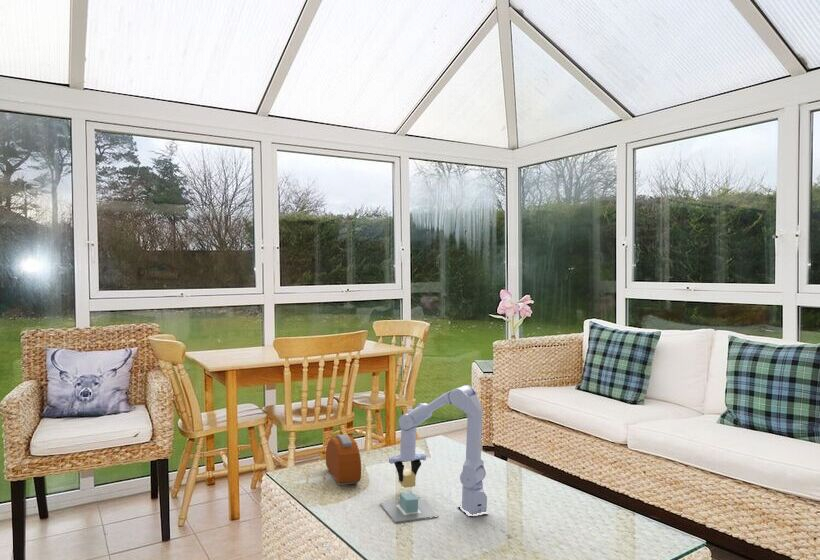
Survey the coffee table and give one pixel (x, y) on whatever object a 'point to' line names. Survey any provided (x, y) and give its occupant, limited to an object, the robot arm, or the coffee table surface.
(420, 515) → the baseplate
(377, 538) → the coffee table surface
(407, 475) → the ochre brick
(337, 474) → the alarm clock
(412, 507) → the teal brick
